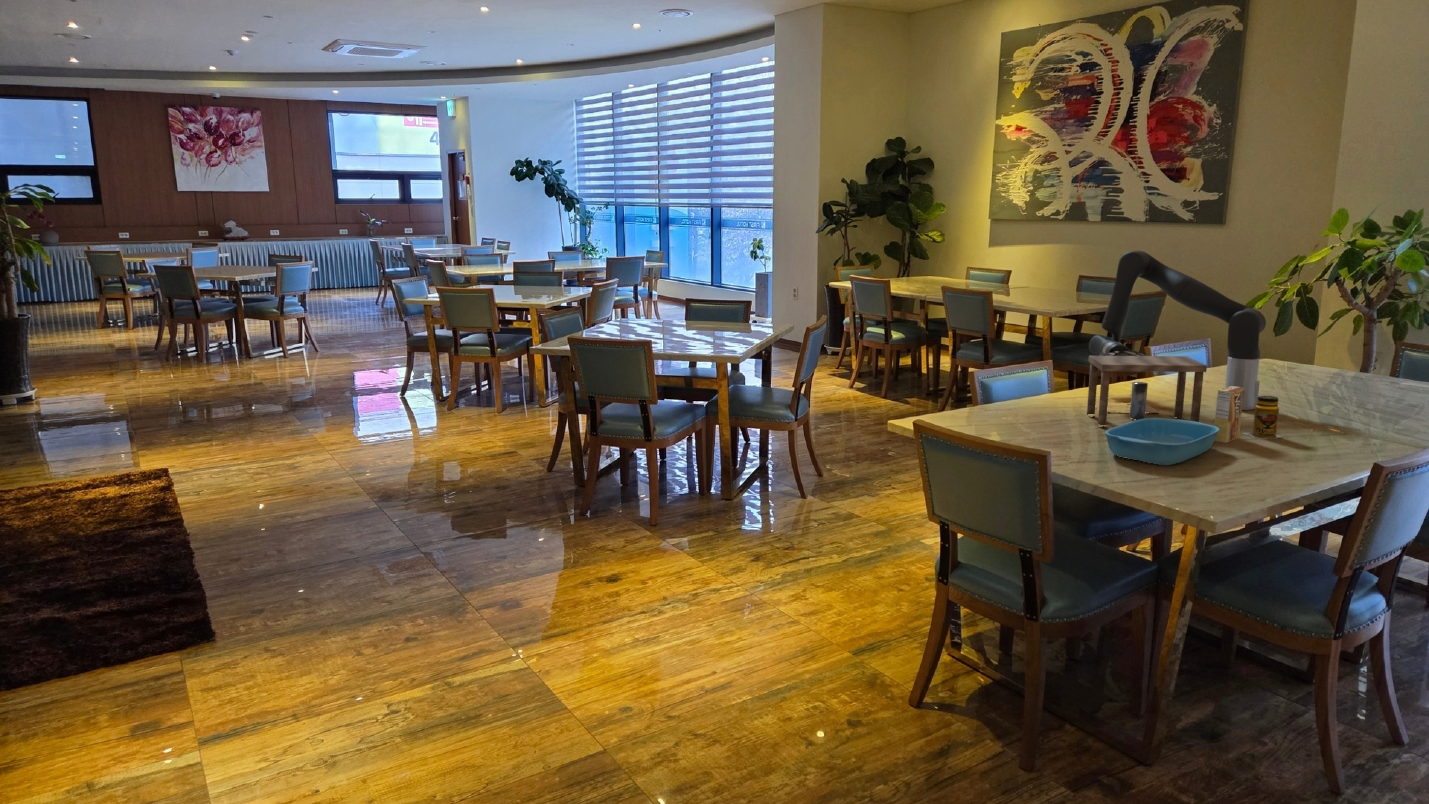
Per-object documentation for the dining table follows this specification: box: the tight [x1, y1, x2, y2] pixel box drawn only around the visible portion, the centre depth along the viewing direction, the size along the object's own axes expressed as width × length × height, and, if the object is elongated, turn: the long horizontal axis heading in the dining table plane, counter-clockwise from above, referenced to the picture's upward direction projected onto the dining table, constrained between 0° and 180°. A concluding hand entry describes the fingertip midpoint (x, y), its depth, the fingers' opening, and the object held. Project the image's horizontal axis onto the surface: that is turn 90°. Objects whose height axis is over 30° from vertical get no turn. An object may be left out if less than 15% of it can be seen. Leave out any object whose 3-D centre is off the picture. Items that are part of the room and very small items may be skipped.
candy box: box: [1213, 386, 1245, 444], centre depth 268 cm, size 9×4×15 cm, turn 129°
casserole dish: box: [1104, 417, 1219, 466], centre depth 256 cm, size 37×22×7 cm, turn 132°
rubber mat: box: [1127, 403, 1159, 414], centre depth 313 cm, size 18×16×1 cm
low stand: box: [1086, 355, 1208, 426], centre depth 290 cm, size 30×18×20 cm, turn 81°
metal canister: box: [1129, 381, 1149, 420], centre depth 295 cm, size 4×4×12 cm
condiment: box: [1241, 395, 1282, 440], centre depth 272 cm, size 7×8×12 cm
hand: (1128, 361), depth 307 cm, fingers open, 8 cm apart
